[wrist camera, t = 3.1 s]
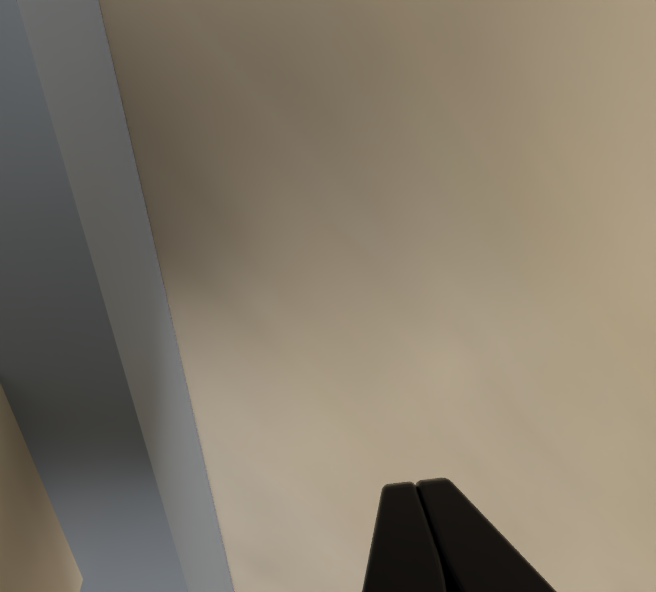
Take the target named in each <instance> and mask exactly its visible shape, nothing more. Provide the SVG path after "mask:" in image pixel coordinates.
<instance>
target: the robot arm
mask: <svg viewBox="0 0 656 592" xmlns="http://www.w3.org/2000/svg"><path fill="white" fill-rule="evenodd" d="M362 592H556V591H555V590H554V589H553V588H552V587H551V585H550V584H549V583H548V582H547V581H546V580H545V579H544V578H543V577H542V576H541V575H540V574H539V573H538V572H537V571H536V570H535V569H534V568H533V567H532V566H531V565H530V563H529V562H528V561H527V560H526V559H525V558H524V557H523V556H522V555H521V554H520V553H519V552H518V551H517V550H516V549H515V548H514V547H513V546H512V545H511V544H510V543H509V541H508V540H507V539H506V538H505V537H504V536H503V535H502V534H501V533H500V532H499V531H498V530H497V529H496V528H495V527H494V526H493V525H492V524H491V523H490V522H489V521H488V519H487V518H486V517H485V516H484V515H483V514H482V513H481V512H480V511H479V510H478V509H477V508H476V507H475V506H474V505H473V504H472V503H471V502H470V501H469V500H468V499H467V497H466V496H465V495H464V494H463V493H462V492H461V491H460V490H459V489H458V488H457V487H456V486H455V485H454V484H453V483H452V482H451V481H450V480H449V479H446V478H435V479H427V480H420V481H418V482H417V483H416V485H415V484H414V483H412V482H402V483H393V484H387V485H385V486H384V487H383V488H382V492H381V497H380V502H379V507H378V512H377V518H376V523H375V528H374V533H373V538H372V544H371V549H370V554H369V559H368V564H367V570H366V575H365V580H364V585H363V590H362Z"/></svg>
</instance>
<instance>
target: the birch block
mask: <svg viewBox="0 0 656 592" xmlns="http://www.w3.org/2000/svg"><path fill="white" fill-rule="evenodd" d="M82 581H83V578H82V576H81V573H80V571H79V569H78V566H77V564H76V561H75V559H74V557H73V554H72V552H71V550H70V547H69V545H68V542H67V540H66V538H65V535H64V533H63V531H62V528H61V526H60V523H59V521H58V519H57V516H56V514H55V512H54V509H53V507H52V504H51V502H50V500H49V497H48V495H47V492H46V490H45V488H44V485H43V483H42V481H41V478H40V476H39V473H38V471H37V469H36V466H35V464H34V462H33V459H32V457H31V454H30V452H29V450H28V447H27V445H26V443H25V440H24V438H23V435H22V433H21V431H20V428H19V426H18V424H17V421H16V419H15V416H14V414H13V412H12V409H11V407H10V405H9V402H8V400H7V397H6V395H5V393H4V390H3V388H2V386H1V383H0V592H80V589H81V585H82Z"/></svg>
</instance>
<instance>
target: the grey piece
mask: <svg viewBox="0 0 656 592" xmlns="http://www.w3.org/2000/svg"><path fill="white" fill-rule="evenodd" d="M0 383H1V386H2V388H3V390H4V393H5V395H6V397H7V400H8V402H9V405H10V407H11V409H12V412H13V414H14V416H15V419H16V421H17V424H18V426H19V428H20V431H21V433H22V435H23V438H24V440H25V443H26V445H27V447H28V450H29V452H30V454H31V457H32V459H33V462H34V464H35V466H36V469H37V471H38V473H39V476H40V478H41V481H42V483H43V485H44V488H45V490H46V492H47V495H48V497H49V500H50V502H51V504H52V507H53V509H54V512H55V514H56V516H57V519H58V521H59V523H60V526H61V528H62V531H63V533H64V535H65V538H66V540H67V542H68V545H69V547H70V550H71V552H72V554H73V557H74V559H75V561H76V564H77V566H78V569H79V571H80V573H81V576H82V578H83V581H82V585H81V589H80V592H234V589H233V585H232V580H231V576H230V571H229V567H228V563H227V558H226V554H225V550H224V545H223V541H222V537H221V532H220V528H219V524H218V519H217V515H216V510H215V506H214V502H213V497H212V493H211V489H210V484H209V480H208V476H207V471H206V467H205V463H204V458H203V454H202V449H201V445H200V441H199V436H198V432H197V428H196V423H195V419H194V415H193V410H192V406H191V402H190V397H189V393H188V388H187V384H186V380H185V375H184V371H183V367H182V362H181V358H180V354H179V349H178V345H177V340H176V336H175V332H174V327H173V323H172V319H171V314H170V310H169V306H168V301H167V297H166V293H165V288H164V284H163V279H162V275H161V271H160V266H159V262H158V258H157V253H156V249H155V245H154V240H153V236H152V232H151V227H150V223H149V218H148V214H147V210H146V205H145V201H144V197H143V192H142V188H141V184H140V179H139V175H138V171H137V166H136V162H135V157H134V153H133V149H132V144H131V140H130V136H129V131H128V127H127V123H126V118H125V114H124V110H123V105H122V101H121V96H120V92H119V88H118V83H117V79H116V75H115V70H114V66H113V62H112V57H111V53H110V48H109V44H108V40H107V35H106V31H105V27H104V22H103V18H102V14H101V9H100V5H99V1H98V0H0Z"/></svg>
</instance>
